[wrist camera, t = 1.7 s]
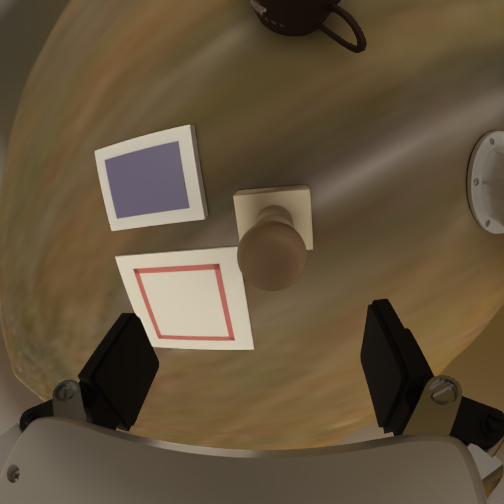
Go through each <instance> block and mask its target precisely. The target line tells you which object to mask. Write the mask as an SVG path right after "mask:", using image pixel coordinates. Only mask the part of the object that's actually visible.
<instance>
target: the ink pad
mask: <svg viewBox="0 0 504 504" xmlns="http://www.w3.org/2000/svg"><path fill="white" fill-rule="evenodd" d="M95 157H96V163H97V169H98V174H99V179H100V184H101V189H102V193H103V198H104V202H105V207H106V211H107V215H108V219H109V223H110V226H111V230H112V231H116V230H123V229H130V228H137V227H145V226H152V225H160V224H168V223H177V222H185V221H194V220H203V219H206V217H207V216H208V209H207V204H206V198H205V192H204V185H203V179H202V173H201V167H200V160H199V154H198V147H197V140H196V133H195V126H194V125H185V126H181V127H176V128H172V129H168V130H164V131H160V132H156V133H152V134H148V135H144V136H141V137H137V138H134V139H130V140H127V141H124V142H120V143H117V144H114V145H111V146H108V147H105V148H102V149H99V150H96V151H95Z"/></svg>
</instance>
